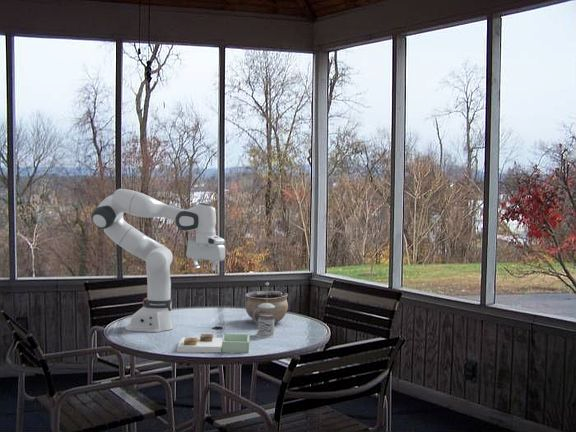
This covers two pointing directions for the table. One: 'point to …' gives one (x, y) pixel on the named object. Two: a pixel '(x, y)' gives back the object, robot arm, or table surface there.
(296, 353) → the table surface
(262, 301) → the ceramic bowl
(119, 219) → the robot arm
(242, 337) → the tray
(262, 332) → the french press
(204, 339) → the walnut tile
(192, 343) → the teak tile
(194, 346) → the white square board
